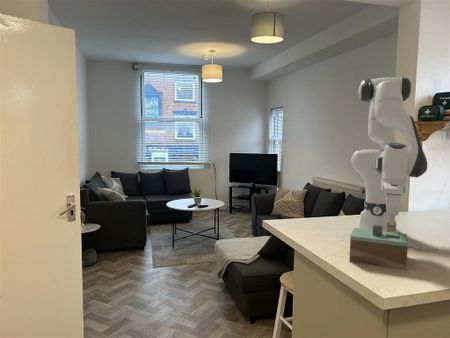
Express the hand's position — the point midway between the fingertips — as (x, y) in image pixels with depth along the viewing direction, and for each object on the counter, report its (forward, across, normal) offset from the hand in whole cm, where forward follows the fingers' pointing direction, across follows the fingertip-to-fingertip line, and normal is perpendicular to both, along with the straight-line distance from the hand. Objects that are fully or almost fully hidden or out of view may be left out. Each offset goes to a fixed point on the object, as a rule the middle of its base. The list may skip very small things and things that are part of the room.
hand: (391, 222), depth 136 cm
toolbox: (+13, +12, -4) cm, 18 cm away
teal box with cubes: (+4, +12, -4) cm, 13 cm away
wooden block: (+13, 0, 0) cm, 13 cm away
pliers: (+13, -12, +10) cm, 20 cm away
